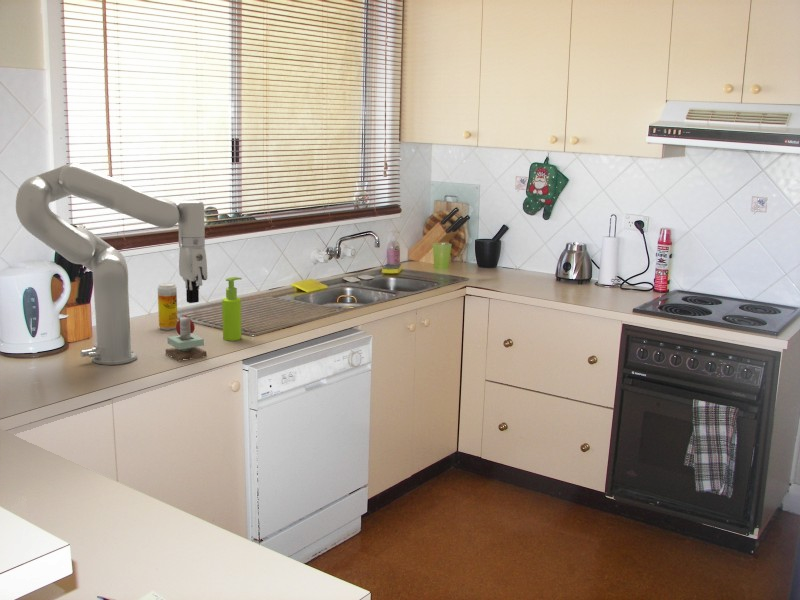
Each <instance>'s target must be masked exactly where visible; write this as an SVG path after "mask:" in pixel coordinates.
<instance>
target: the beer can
mask: <svg viewBox="0 0 800 600" xmlns="http://www.w3.org/2000/svg"><path fill="white" fill-rule="evenodd" d="M177 293H178V292H177V286H176V283H173V282H161V283H159V284H158V286H157V307H158V326H159V328H160V329H161V330H165V331H168V330H169V331H170V330H175V329H176V324H177V322H178V321H179V320H178V319H179V318H178V297H177V296H178V294H177Z"/></svg>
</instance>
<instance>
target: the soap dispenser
mask: <svg viewBox="0 0 800 600" xmlns="http://www.w3.org/2000/svg"><path fill="white" fill-rule="evenodd" d="M242 279H243V278H242V277H237V276H232V277H227V278H226V279H225V281H226V282H228V287H226V288H225V297H224V298H222V301H221V302H222V303H221V305H222V310H221V311H222V339H223V340H224V341H239V340H241V339H242V300H241V298H240V297H238V288H236V287H235V281H237V280H242Z"/></svg>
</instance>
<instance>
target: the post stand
mask: <svg viewBox="0 0 800 600" xmlns="http://www.w3.org/2000/svg"><path fill="white" fill-rule="evenodd" d="M190 319H191V317H189V316H187V317H183V316H182V317H180V318H179V320H180V339H181V340H182V341H183V340H189V339H191V332H190ZM167 354H168V355H167ZM165 355H167V356H169V355H170V356H172V357H174V358H175V359H174V358H173V359H174V360H176V359H177V360H176V361H178V360H183V359H188V360H191V359H190V358H194V359H199V358H204V357H203V356H205V357H207V356H208V355H207V351H206V350H204V349H202V348H201V347H200V346H198V347H192V348H186V349H181V350H179V349H177V348H175V347H171V348H165ZM170 356H169V357H170ZM172 357H171V358H172ZM198 357H199V358H198ZM183 361H184V360H183Z"/></svg>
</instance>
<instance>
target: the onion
mask: <svg viewBox="0 0 800 600" xmlns="http://www.w3.org/2000/svg"><path fill="white" fill-rule="evenodd" d="M182 317H188V314H187V313H186V314H185V313H184V315H183V316H182ZM195 327H196V326H195V323H194V321H193V320H192V319H191V318H190V332H191V333H192V334H194V332H195ZM175 329H176V330H175V332H176V333H177V334H178V335H180V319H179V320H178V322H177V324H176V328H175Z"/></svg>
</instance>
